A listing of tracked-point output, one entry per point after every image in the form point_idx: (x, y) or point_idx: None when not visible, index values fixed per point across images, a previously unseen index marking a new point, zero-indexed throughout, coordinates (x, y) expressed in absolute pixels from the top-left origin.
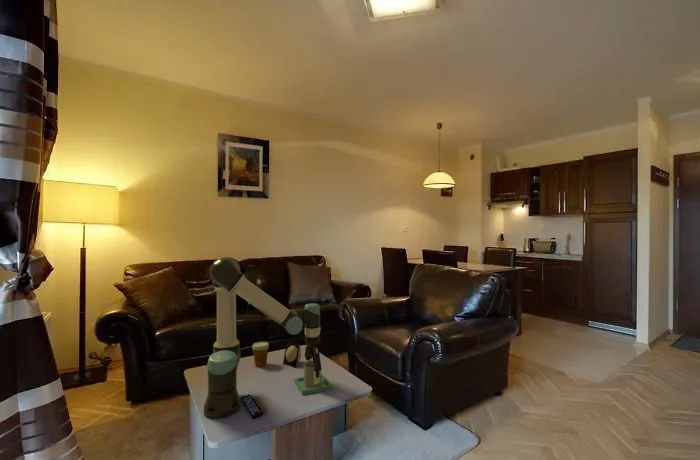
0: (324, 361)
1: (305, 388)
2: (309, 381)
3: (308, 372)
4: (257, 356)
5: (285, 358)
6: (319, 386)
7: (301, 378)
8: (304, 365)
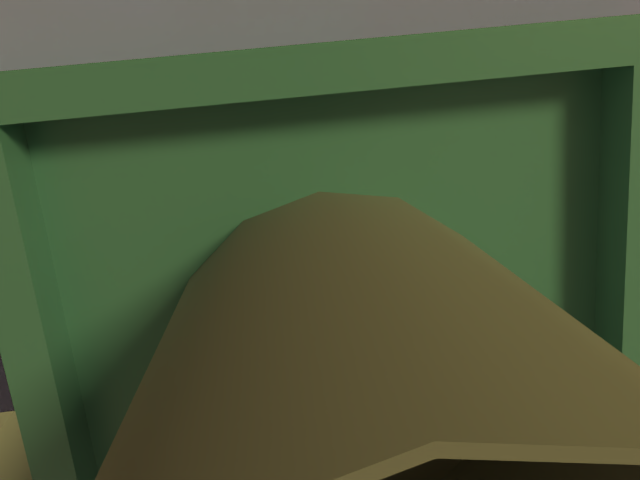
0: None
1: (200, 192)
2: (169, 325)
3: (136, 440)
4: None
5: None
6: None
7: (624, 185)
8: (470, 455)
